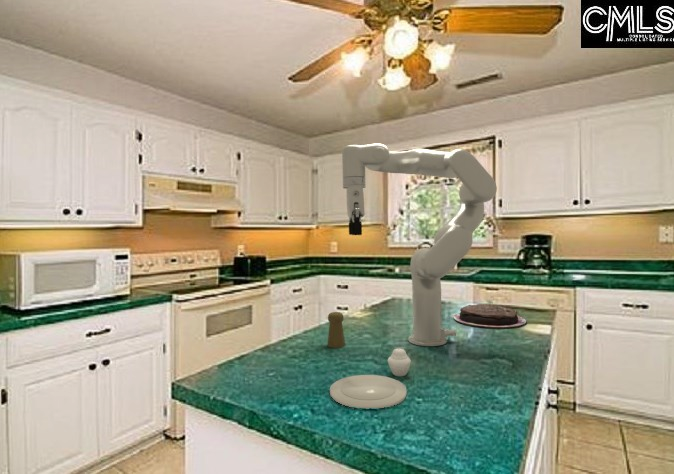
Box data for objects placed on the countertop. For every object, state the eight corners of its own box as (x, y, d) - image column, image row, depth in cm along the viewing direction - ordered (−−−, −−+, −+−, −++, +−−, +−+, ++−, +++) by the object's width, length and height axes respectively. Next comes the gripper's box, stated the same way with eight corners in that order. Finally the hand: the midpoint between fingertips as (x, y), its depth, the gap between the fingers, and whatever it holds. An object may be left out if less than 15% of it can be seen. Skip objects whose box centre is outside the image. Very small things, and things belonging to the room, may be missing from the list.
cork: (343, 348, 132) (342, 314, 132) (325, 347, 134) (324, 314, 133) (346, 342, 138) (346, 310, 138) (329, 342, 139) (328, 310, 139)
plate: (397, 377, 106) (397, 372, 106) (415, 407, 88) (415, 402, 88) (328, 380, 105) (328, 375, 105) (332, 411, 87) (331, 406, 87)
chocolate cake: (531, 318, 170) (530, 302, 170) (520, 333, 147) (520, 315, 146) (463, 312, 185) (463, 297, 185) (444, 325, 162) (443, 308, 161)
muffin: (405, 380, 104) (405, 353, 103) (384, 376, 107) (383, 349, 107) (414, 372, 109) (414, 346, 109) (393, 368, 112) (393, 343, 112)
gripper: (369, 180, 127) (370, 235, 127) (362, 185, 144) (363, 234, 144) (345, 180, 126) (346, 235, 127) (340, 186, 143) (341, 234, 144)
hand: (355, 234), depth 135 cm, fingers open, 9 cm apart
